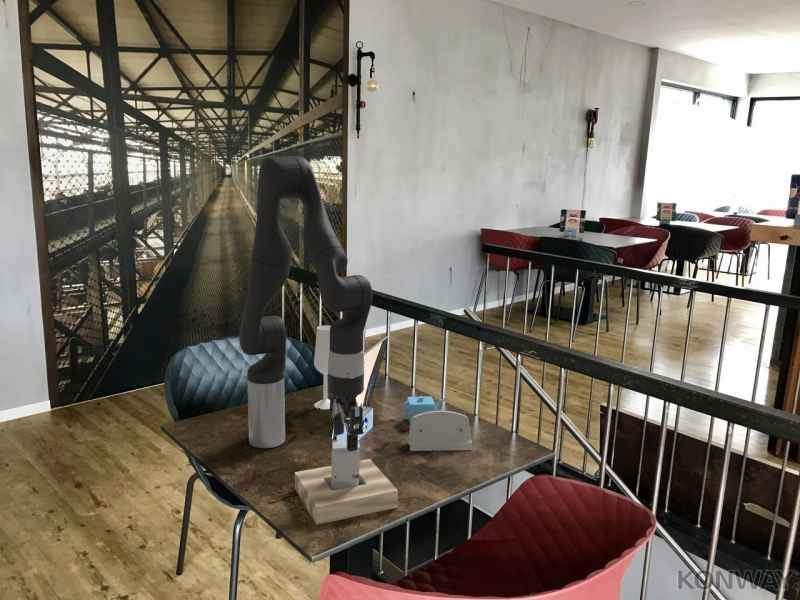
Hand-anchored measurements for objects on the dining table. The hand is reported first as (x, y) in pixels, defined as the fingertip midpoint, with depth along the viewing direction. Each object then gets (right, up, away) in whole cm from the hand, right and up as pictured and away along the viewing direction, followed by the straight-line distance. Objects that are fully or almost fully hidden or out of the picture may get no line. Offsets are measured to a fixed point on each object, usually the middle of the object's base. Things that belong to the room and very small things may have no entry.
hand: (345, 442), depth 141 cm
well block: (0, -13, +3) cm, 13 cm away
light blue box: (+18, -4, +45) cm, 49 cm away
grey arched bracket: (+22, -8, +31) cm, 39 cm away
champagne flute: (-11, -1, +56) cm, 57 cm away
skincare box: (0, -12, +3) cm, 13 cm away
